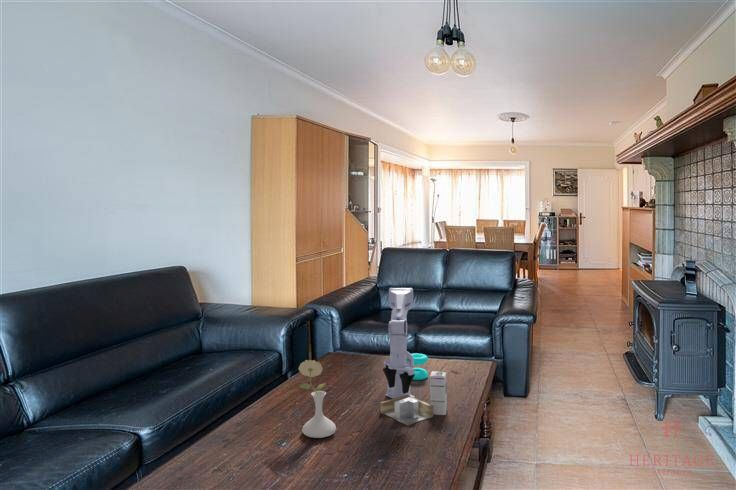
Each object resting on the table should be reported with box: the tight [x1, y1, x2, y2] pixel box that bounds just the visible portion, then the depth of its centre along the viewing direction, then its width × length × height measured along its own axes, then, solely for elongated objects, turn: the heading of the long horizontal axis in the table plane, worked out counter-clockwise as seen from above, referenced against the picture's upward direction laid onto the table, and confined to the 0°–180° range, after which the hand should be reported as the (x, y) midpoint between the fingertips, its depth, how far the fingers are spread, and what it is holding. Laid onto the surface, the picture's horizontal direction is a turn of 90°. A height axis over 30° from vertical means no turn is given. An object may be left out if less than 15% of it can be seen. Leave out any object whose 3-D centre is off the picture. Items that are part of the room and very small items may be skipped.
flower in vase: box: [297, 359, 337, 439], centre depth 163 cm, size 13×11×25 cm
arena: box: [379, 395, 434, 427], centre depth 178 cm, size 15×13×4 cm
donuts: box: [406, 352, 429, 381], centre depth 221 cm, size 10×10×10 cm
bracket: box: [394, 397, 418, 422], centre depth 174 cm, size 7×5×6 cm
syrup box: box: [429, 370, 448, 416], centre depth 181 cm, size 6×6×14 cm
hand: (398, 389), depth 176 cm, fingers open, 7 cm apart
